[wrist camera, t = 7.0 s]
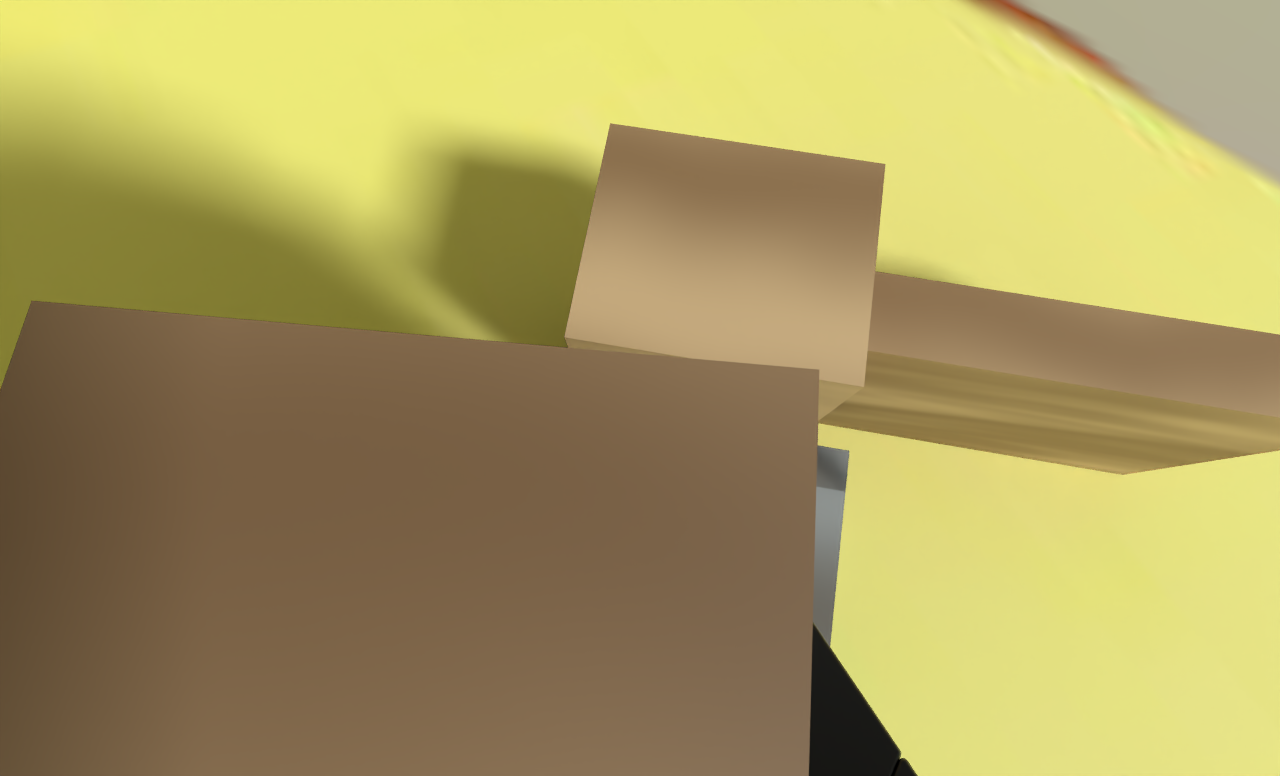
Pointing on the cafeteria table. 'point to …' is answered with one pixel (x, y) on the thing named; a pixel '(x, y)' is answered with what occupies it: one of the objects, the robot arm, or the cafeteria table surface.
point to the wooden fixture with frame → (893, 325)
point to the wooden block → (397, 554)
